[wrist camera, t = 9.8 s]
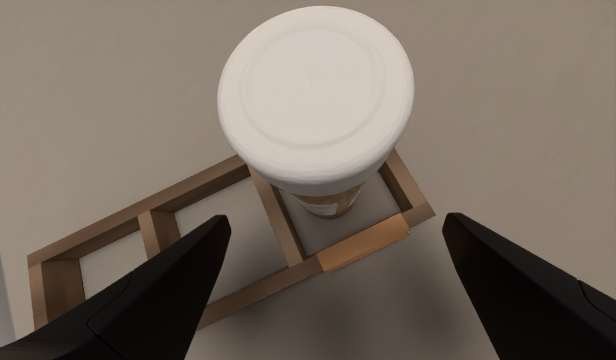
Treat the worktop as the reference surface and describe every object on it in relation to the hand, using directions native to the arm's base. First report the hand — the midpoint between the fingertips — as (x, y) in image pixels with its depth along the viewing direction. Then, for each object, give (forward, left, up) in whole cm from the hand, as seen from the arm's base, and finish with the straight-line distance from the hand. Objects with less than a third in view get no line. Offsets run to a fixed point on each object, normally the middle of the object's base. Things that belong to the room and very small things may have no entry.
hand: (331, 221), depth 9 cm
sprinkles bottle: (+3, -1, -8) cm, 9 cm away
